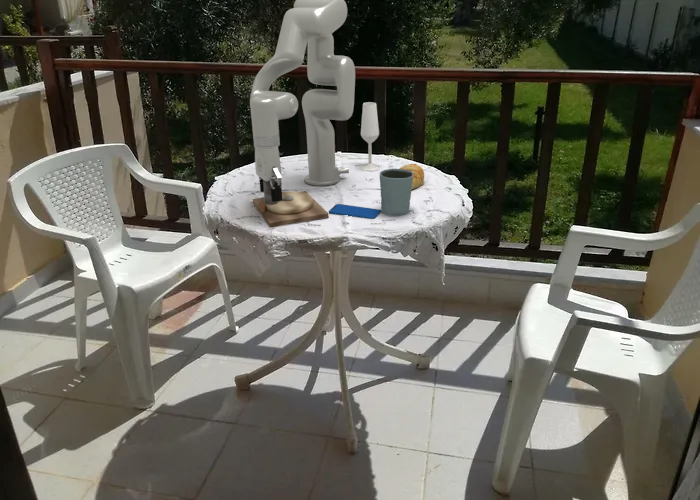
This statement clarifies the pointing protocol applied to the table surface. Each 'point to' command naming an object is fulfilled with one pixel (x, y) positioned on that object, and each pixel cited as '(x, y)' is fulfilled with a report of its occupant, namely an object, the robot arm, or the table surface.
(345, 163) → the table surface
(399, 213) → the grey-green cup
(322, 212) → the board
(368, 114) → the champagne flute
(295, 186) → the table surface
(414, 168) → the croissant
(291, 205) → the dial
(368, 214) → the smartphone
